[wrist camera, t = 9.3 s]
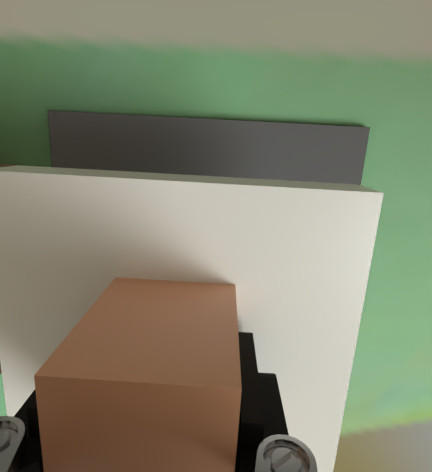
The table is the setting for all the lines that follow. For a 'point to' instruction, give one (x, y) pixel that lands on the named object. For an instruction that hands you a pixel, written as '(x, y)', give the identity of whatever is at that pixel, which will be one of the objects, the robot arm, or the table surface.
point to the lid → (176, 310)
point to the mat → (208, 147)
